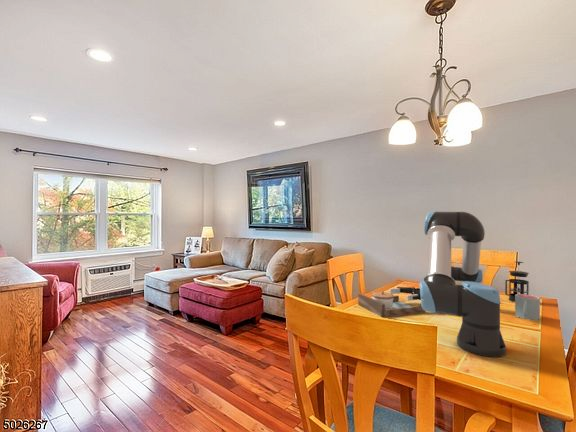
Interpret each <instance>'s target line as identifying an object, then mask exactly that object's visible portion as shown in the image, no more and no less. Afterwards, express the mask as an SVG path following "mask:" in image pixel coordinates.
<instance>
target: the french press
mask: <svg viewBox="0 0 576 432" xmlns="http://www.w3.org/2000/svg"><path fill="white" fill-rule="evenodd" d="M515 263H516V264H517V265H518V267H517V268H518V270H508V273H509V275H510V276H511V277H518V278H509V279H505V280H504V281H505V285H504V286H505V287H504V290H505V291H504V293H505V295H506V296H508V301H510V302H512V303H515V295H516V294H526V295H530V294H529V291H530V289H529V283H530V282H529V281H528V280H525V279H520V278H527V277H528V275H529V272H527V271H522V270H520V265H521V264H524V262H523V261H517V260H515ZM512 284H513V287H512ZM508 286H509V287H508ZM525 286H526V289H525ZM512 292H513V293H512Z"/></svg>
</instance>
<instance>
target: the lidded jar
mask: <svg viewBox="0 0 576 432" xmlns="http://www.w3.org/2000/svg"><path fill="white" fill-rule="evenodd" d="M394 296H395V295H394V294H390V293H389V292H385V291H384V290H381V291H375V292H372V293H371V298H372V299H374V300H376V301H378V302H380V303H383V304H385V310H388V309H392V304H393V297H394Z"/></svg>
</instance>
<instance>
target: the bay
mask: <svg viewBox="0 0 576 432" xmlns="http://www.w3.org/2000/svg"><path fill="white" fill-rule="evenodd" d="M393 296H394V297H393V304H392V307H391V308H390V309H388V310H385V304H383V303H380V302H378V301H376V300H374V299H372V297H369V296H367V295H365V294H363V293H358V296H357V298H358V299H357V300H358V301H357V305H358V306H359V307H362V308H364V309H365V310H368V311H370V312H371V311H372V312H371V313H373V314H375V315H378V316H379V317H380V318H386V317H393V316H394V317H395V316H402V315H403V316H404V315H411V314H413V315H414V314H420V313H426V311H425V310H423V309H422V306H421V305H418V306H413V305H411V304H407V303H405V302H403V301H401V300H400V297H399V295H393ZM383 316H384V317H383Z"/></svg>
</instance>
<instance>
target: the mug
mask: <svg viewBox="0 0 576 432" xmlns="http://www.w3.org/2000/svg"><path fill="white" fill-rule="evenodd" d="M540 304H541V298H540V297H539V296H536V295H532V294H529V295H527V293H524V294H520V293H517V294H516V295H515V302H514V311H515V312H514V316H515V317H517V318H519V317H520V319H523V318H524V320H527V319H530V320H529V321H538V320H537V319H541V309H540V308H541V305H540Z"/></svg>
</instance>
